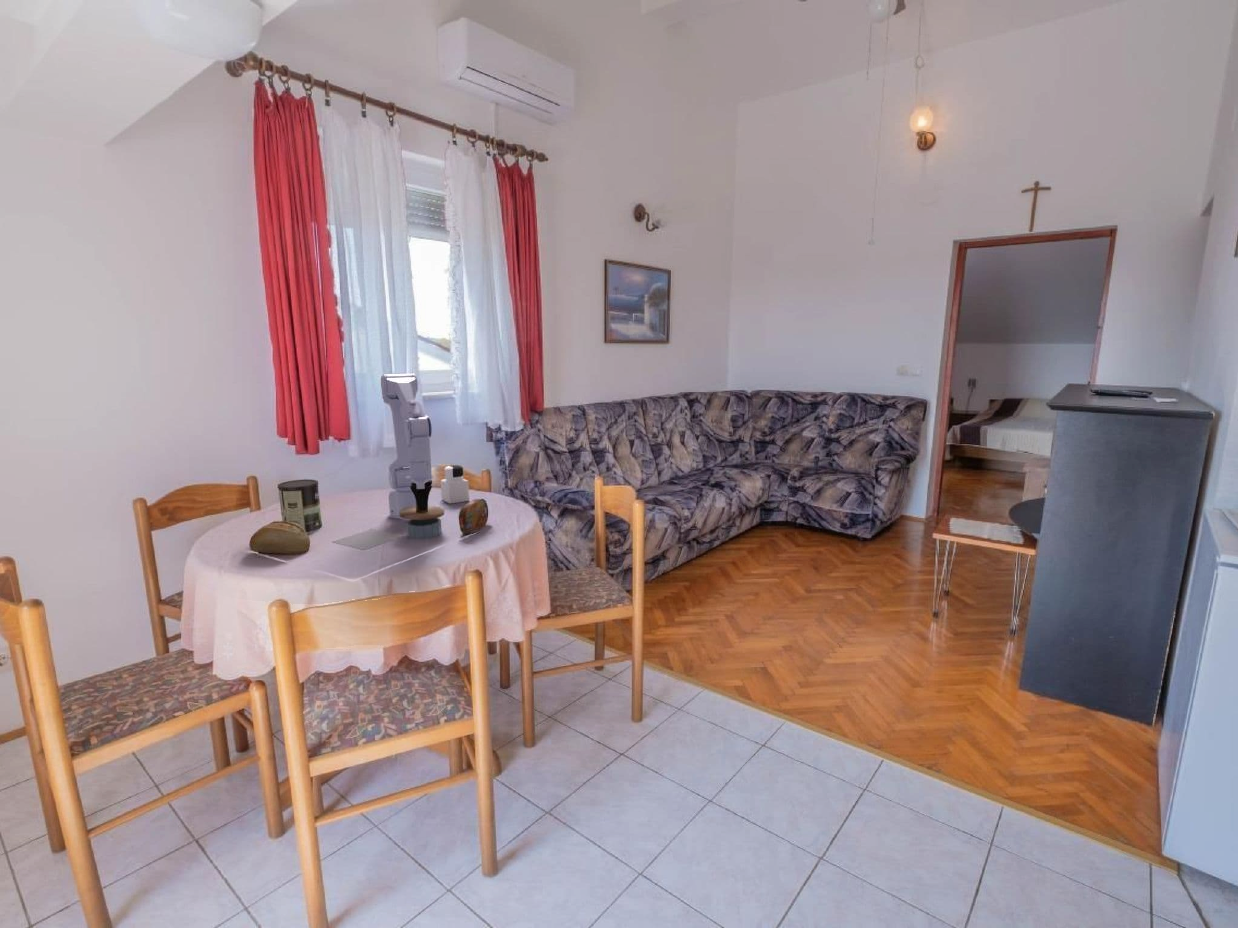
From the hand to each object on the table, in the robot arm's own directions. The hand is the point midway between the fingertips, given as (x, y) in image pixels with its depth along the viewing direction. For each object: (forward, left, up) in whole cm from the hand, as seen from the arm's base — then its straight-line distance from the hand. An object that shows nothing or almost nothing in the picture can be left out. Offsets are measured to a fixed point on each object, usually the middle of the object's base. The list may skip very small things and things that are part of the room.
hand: (423, 508), depth 171 cm
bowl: (0, 0, -8) cm, 8 cm away
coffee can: (-34, -14, -8) cm, 37 cm away
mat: (-10, -11, -8) cm, 17 cm away
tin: (+9, +11, -8) cm, 16 cm away
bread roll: (-22, -28, -8) cm, 37 cm away
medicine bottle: (-20, +33, -8) cm, 39 cm away
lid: (0, 0, -2) cm, 2 cm away
